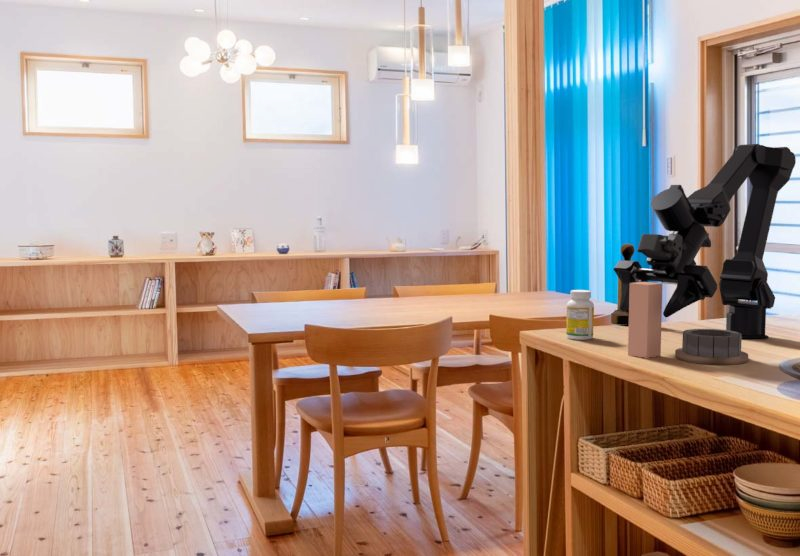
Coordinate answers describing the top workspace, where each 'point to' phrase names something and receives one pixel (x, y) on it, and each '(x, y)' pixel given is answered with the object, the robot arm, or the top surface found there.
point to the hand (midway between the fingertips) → (642, 312)
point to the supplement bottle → (580, 315)
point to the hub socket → (711, 347)
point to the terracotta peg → (645, 319)
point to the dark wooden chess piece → (618, 315)
